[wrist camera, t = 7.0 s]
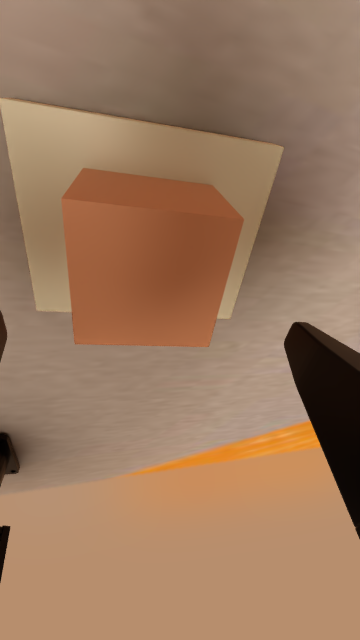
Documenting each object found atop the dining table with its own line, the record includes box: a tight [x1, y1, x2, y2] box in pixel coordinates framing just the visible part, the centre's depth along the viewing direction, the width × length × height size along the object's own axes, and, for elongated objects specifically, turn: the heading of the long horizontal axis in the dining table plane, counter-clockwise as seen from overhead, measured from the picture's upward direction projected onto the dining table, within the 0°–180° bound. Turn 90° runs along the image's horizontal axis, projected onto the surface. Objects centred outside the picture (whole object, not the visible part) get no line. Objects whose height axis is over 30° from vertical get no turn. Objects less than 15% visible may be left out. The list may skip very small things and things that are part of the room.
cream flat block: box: [0, 98, 284, 319], centre depth 15 cm, size 10×12×3 cm
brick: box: [61, 168, 244, 347], centre depth 13 cm, size 6×6×5 cm
